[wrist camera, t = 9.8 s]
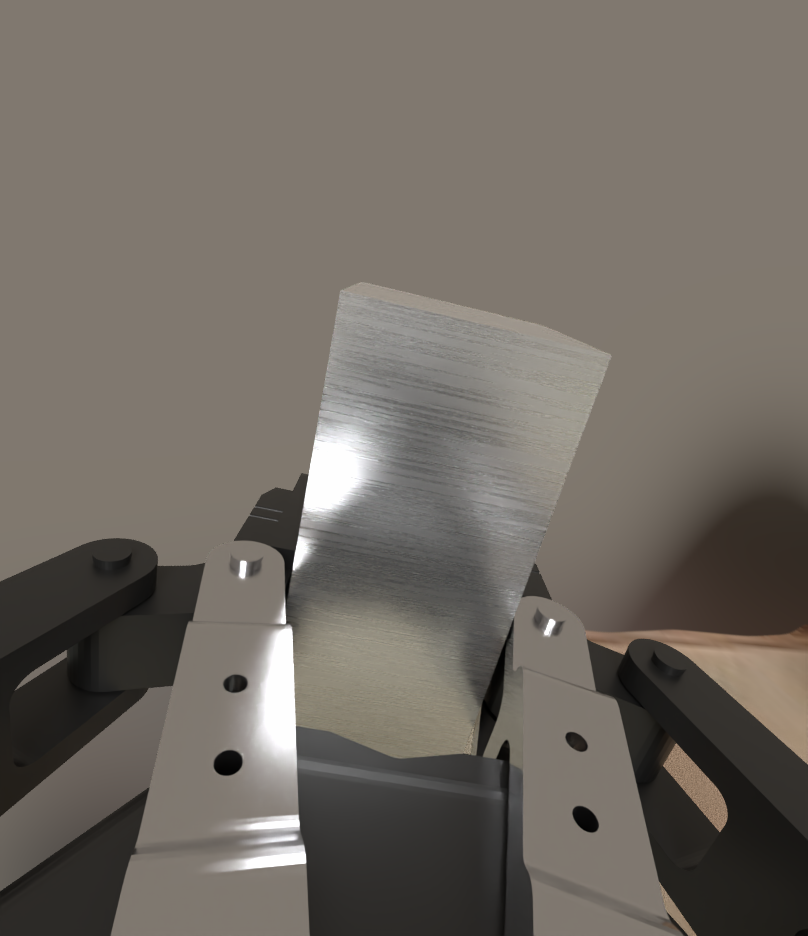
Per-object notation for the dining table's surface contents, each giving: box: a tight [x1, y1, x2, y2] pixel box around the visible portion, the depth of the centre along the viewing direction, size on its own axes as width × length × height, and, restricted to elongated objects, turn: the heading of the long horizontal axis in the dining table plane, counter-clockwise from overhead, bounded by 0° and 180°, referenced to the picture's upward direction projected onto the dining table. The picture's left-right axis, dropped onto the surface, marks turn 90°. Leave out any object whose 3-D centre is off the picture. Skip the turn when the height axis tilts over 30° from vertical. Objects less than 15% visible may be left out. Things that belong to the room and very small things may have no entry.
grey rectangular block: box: [285, 282, 611, 758], centre depth 11 cm, size 4×4×14 cm
